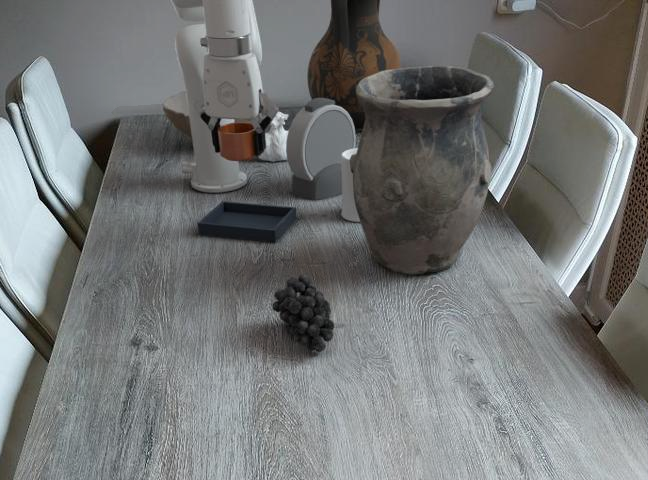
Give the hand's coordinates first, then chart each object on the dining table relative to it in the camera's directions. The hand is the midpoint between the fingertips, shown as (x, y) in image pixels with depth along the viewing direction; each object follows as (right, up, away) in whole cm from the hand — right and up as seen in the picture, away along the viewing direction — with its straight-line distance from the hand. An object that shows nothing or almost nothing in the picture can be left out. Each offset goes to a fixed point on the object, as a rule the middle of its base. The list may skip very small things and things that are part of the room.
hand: (239, 151), depth 148 cm
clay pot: (+33, -21, -3) cm, 39 cm away
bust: (+5, +17, +44) cm, 47 cm away
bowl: (-11, +26, +56) cm, 63 cm away
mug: (+25, -7, +14) cm, 30 cm away
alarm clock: (+15, +3, +27) cm, 31 cm away
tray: (0, -11, +11) cm, 15 cm away
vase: (+23, +34, +64) cm, 76 cm away
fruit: (+13, -40, -25) cm, 49 cm away
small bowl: (0, -1, +1) cm, 1 cm away
